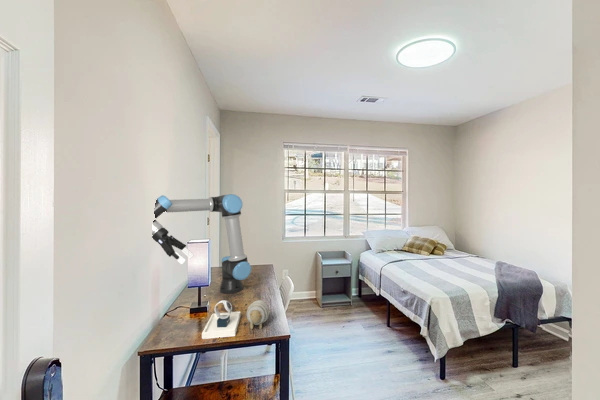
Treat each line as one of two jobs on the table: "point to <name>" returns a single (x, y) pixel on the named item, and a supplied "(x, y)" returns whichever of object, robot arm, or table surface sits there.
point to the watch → (223, 319)
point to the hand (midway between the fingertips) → (188, 259)
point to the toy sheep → (257, 313)
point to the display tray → (216, 332)
